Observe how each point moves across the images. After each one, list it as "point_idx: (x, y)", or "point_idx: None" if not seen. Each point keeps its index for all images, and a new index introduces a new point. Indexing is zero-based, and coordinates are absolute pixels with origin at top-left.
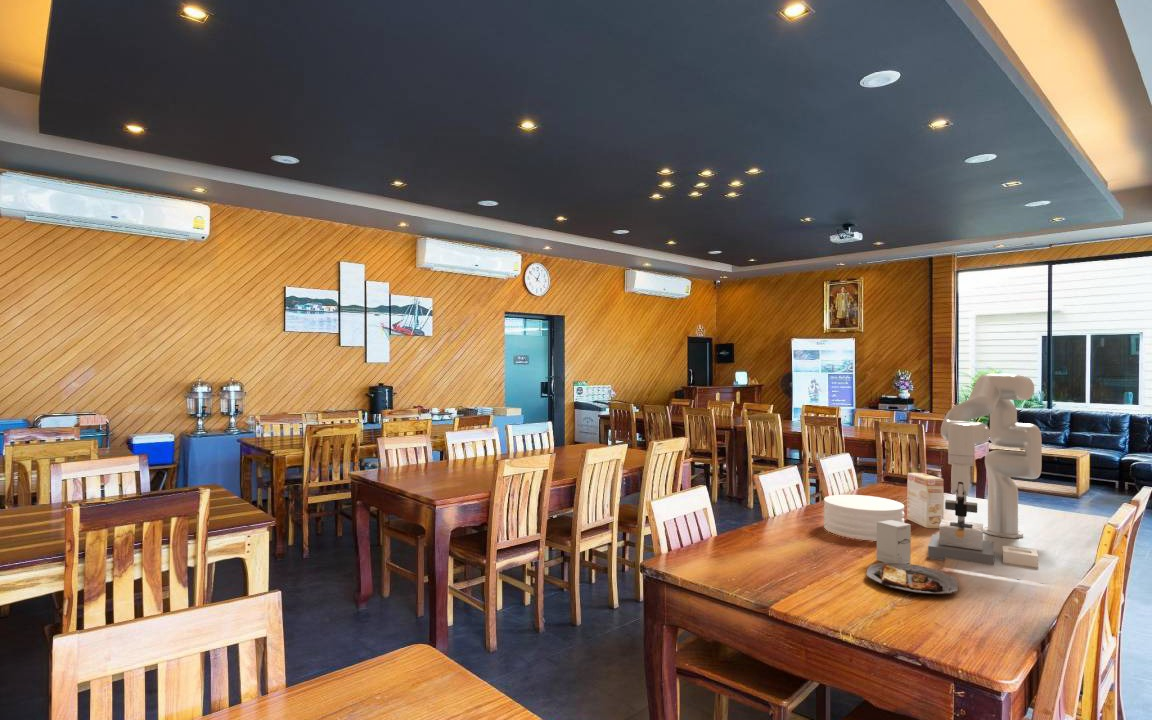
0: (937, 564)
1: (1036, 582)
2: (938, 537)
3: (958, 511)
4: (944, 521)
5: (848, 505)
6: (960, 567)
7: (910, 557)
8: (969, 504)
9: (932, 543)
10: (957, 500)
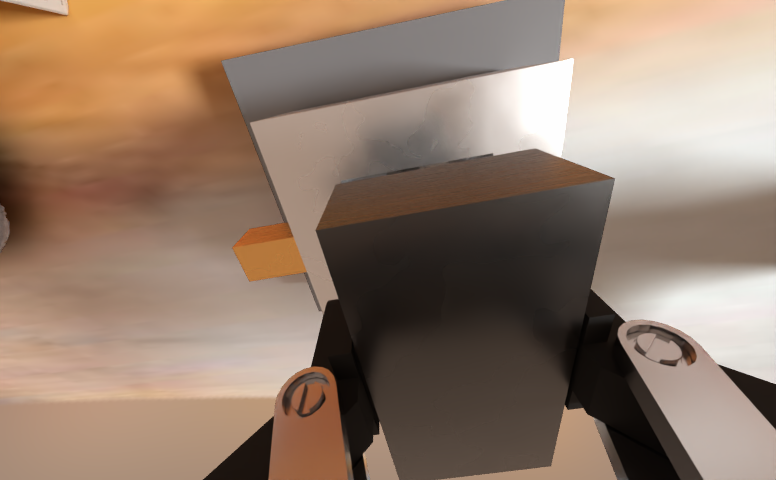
0: (191, 130)
1: (280, 364)
2: (485, 53)
3: (327, 314)
4: (477, 108)
5: None
6: (237, 208)
7: (39, 8)
8: (405, 447)
9: (303, 65)
10: (279, 446)
